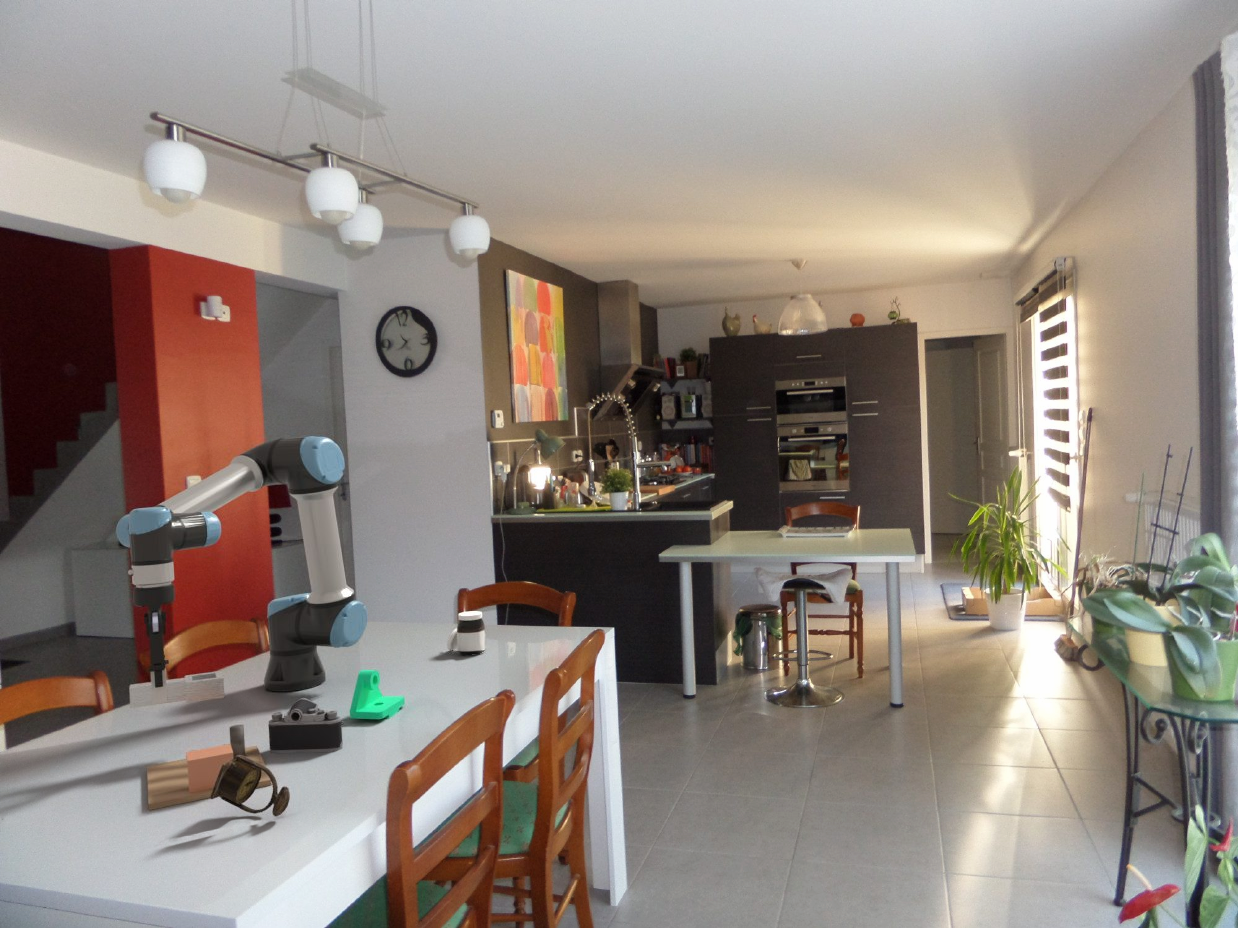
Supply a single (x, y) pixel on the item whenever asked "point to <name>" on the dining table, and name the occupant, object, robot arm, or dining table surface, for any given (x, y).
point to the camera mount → (372, 698)
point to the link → (181, 689)
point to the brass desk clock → (247, 785)
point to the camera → (305, 729)
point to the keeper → (206, 766)
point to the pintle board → (172, 777)
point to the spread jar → (468, 634)
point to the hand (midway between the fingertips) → (159, 699)
